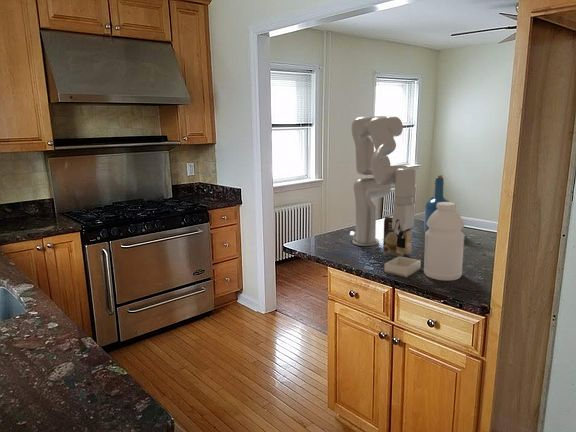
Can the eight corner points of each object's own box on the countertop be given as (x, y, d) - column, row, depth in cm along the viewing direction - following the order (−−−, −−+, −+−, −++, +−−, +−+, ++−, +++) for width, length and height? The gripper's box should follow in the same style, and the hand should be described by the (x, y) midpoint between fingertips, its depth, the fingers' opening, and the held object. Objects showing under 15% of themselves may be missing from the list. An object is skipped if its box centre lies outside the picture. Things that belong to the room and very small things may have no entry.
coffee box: (382, 255, 191) (383, 219, 187) (384, 250, 197) (384, 216, 193) (403, 256, 188) (404, 220, 184) (404, 252, 194) (405, 217, 190)
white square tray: (384, 272, 170) (384, 263, 170) (398, 264, 179) (398, 256, 178) (406, 277, 164) (407, 268, 163) (420, 268, 173) (420, 260, 172)
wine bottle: (454, 235, 217) (457, 176, 210) (428, 236, 217) (430, 177, 210) (445, 228, 230) (448, 172, 223) (420, 229, 230) (422, 173, 223)
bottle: (457, 283, 156) (462, 208, 150) (419, 277, 164) (422, 205, 157) (465, 271, 168) (469, 201, 162) (428, 266, 175) (431, 198, 169)
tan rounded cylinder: (396, 252, 170) (396, 230, 168) (400, 250, 172) (400, 228, 170) (407, 254, 167) (407, 231, 165) (411, 252, 169) (411, 229, 167)
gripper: (405, 196, 173) (404, 240, 177) (385, 202, 162) (384, 249, 165) (423, 197, 169) (421, 242, 173) (403, 204, 157) (402, 253, 161)
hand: (403, 245), depth 169 cm, fingers closed on tan rounded cylinder, 3 cm apart
